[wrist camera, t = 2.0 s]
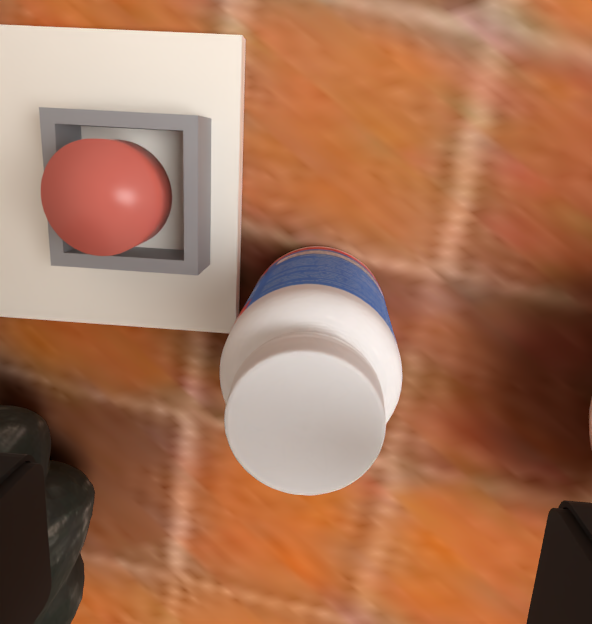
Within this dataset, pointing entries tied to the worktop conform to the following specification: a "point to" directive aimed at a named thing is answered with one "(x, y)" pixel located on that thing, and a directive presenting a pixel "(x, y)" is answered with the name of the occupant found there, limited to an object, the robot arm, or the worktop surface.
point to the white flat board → (145, 132)
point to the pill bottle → (310, 373)
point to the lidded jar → (590, 422)
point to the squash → (54, 509)
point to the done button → (105, 195)
